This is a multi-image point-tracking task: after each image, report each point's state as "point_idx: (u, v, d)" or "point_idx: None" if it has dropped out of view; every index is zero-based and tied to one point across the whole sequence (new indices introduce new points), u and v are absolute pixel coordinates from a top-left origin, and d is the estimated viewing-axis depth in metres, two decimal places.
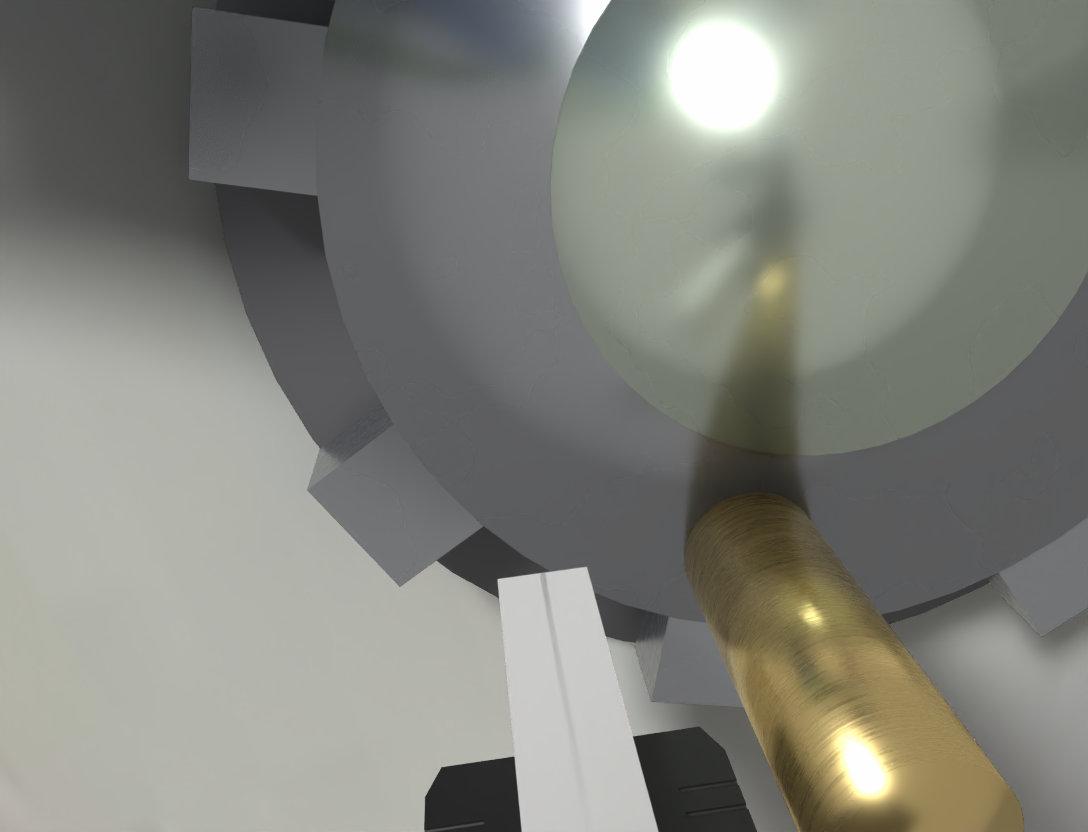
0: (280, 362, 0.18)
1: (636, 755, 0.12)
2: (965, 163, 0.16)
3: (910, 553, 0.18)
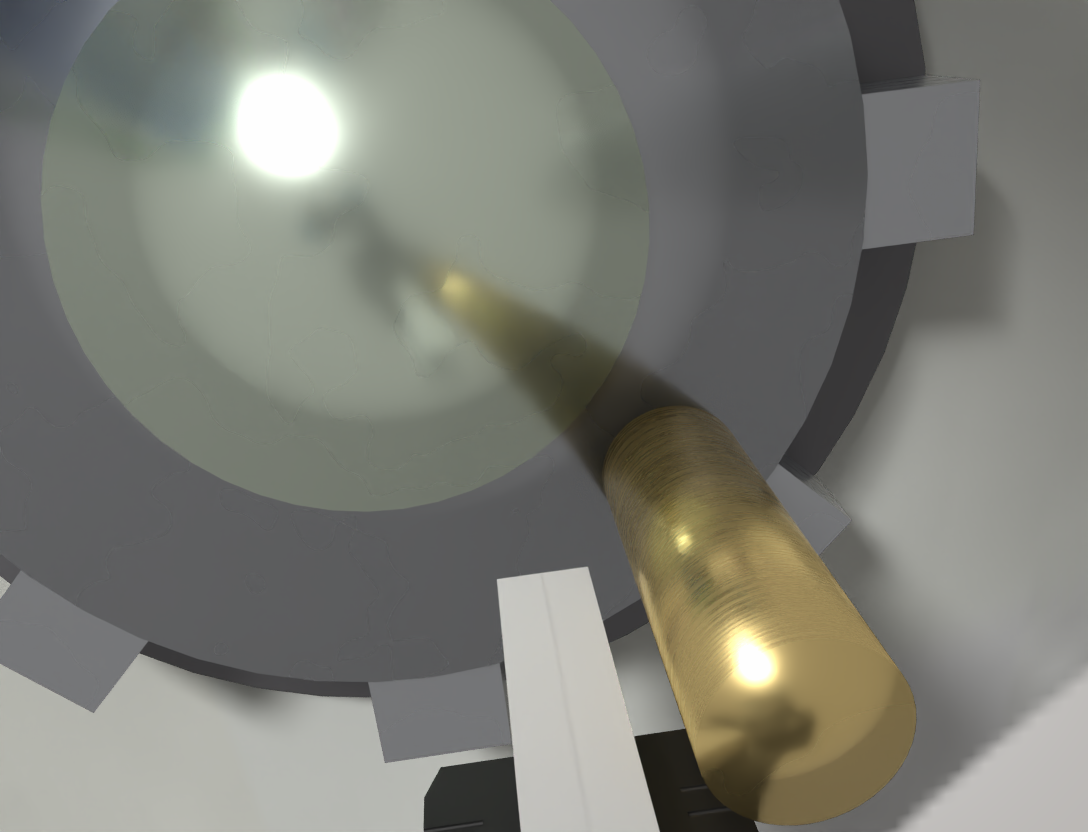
0: None
1: (637, 755, 0.12)
2: (394, 115, 0.15)
3: (776, 329, 0.17)
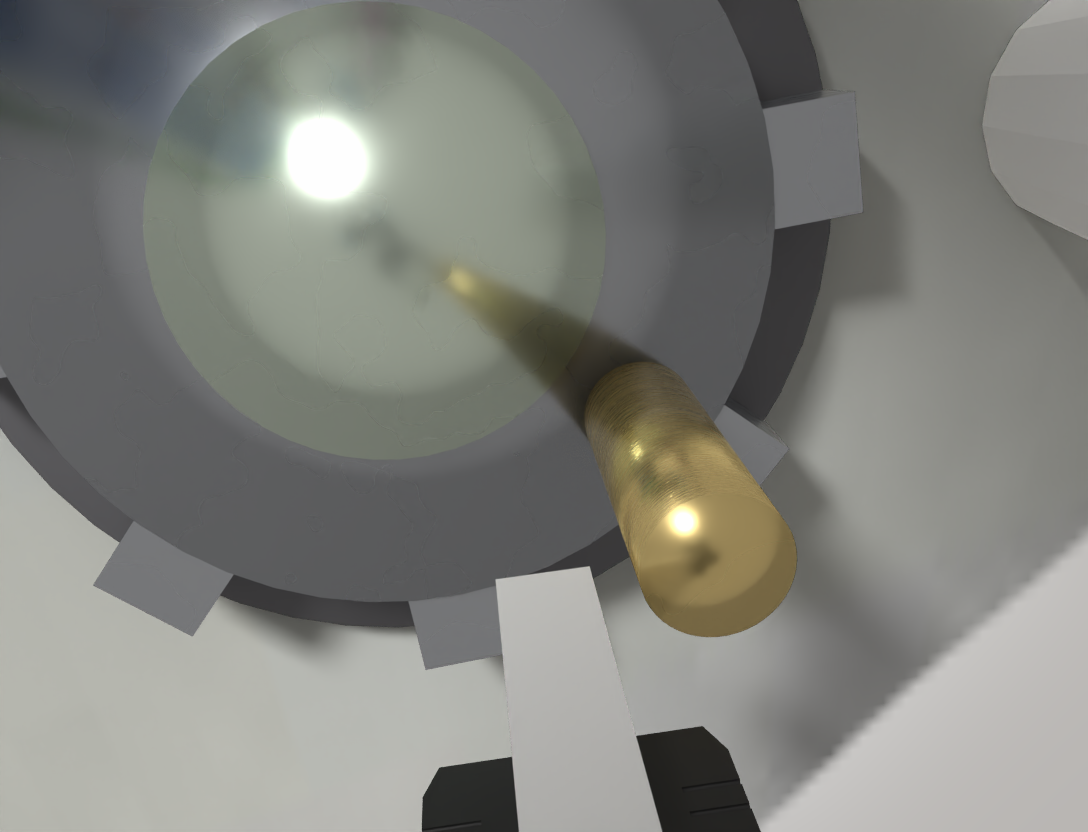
0: None
1: (639, 754, 0.12)
2: (404, 149, 0.19)
3: (713, 296, 0.21)
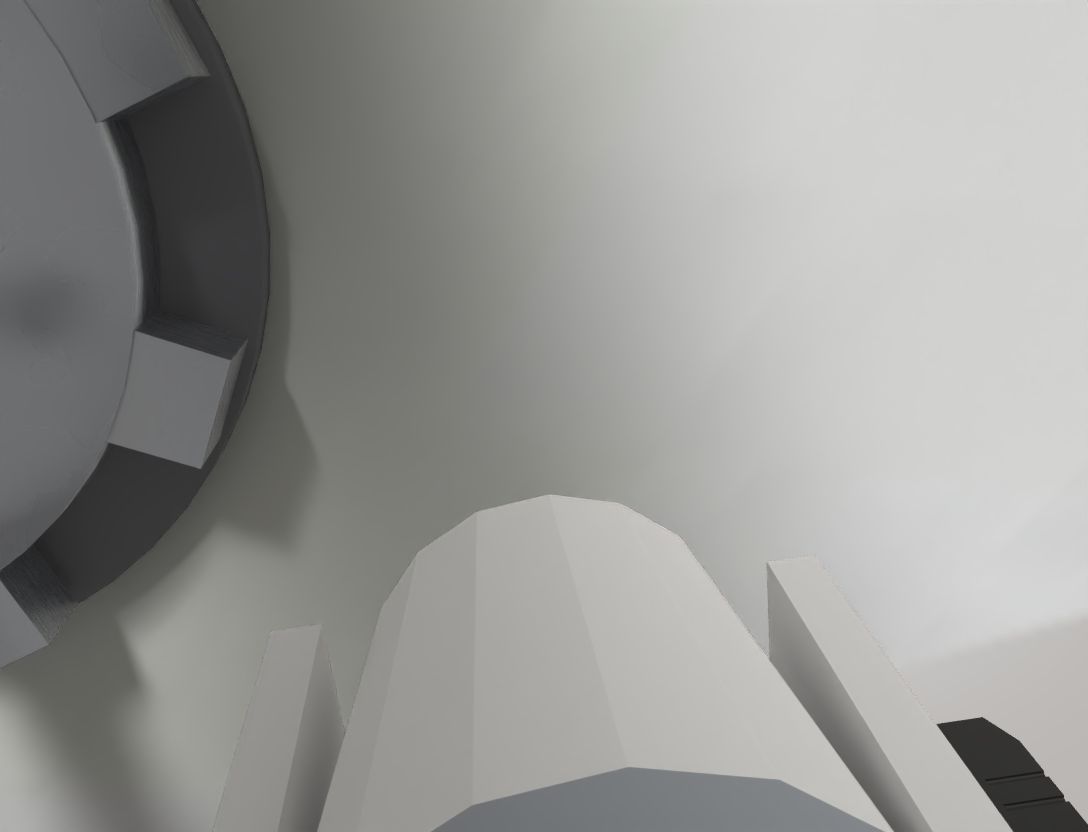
0: None
1: (951, 745, 0.11)
2: None
3: (19, 472, 0.20)
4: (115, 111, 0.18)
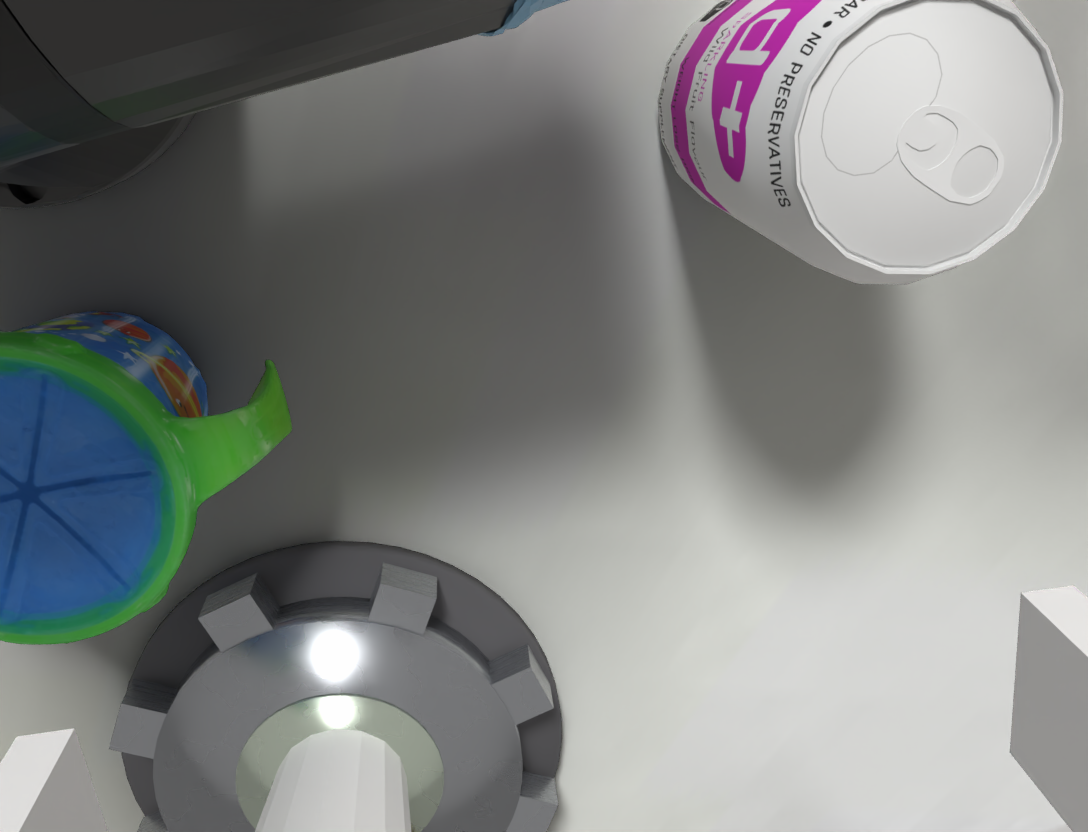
0: None
1: None
2: None
3: None
4: (523, 721, 0.45)
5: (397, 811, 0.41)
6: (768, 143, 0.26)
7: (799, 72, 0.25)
